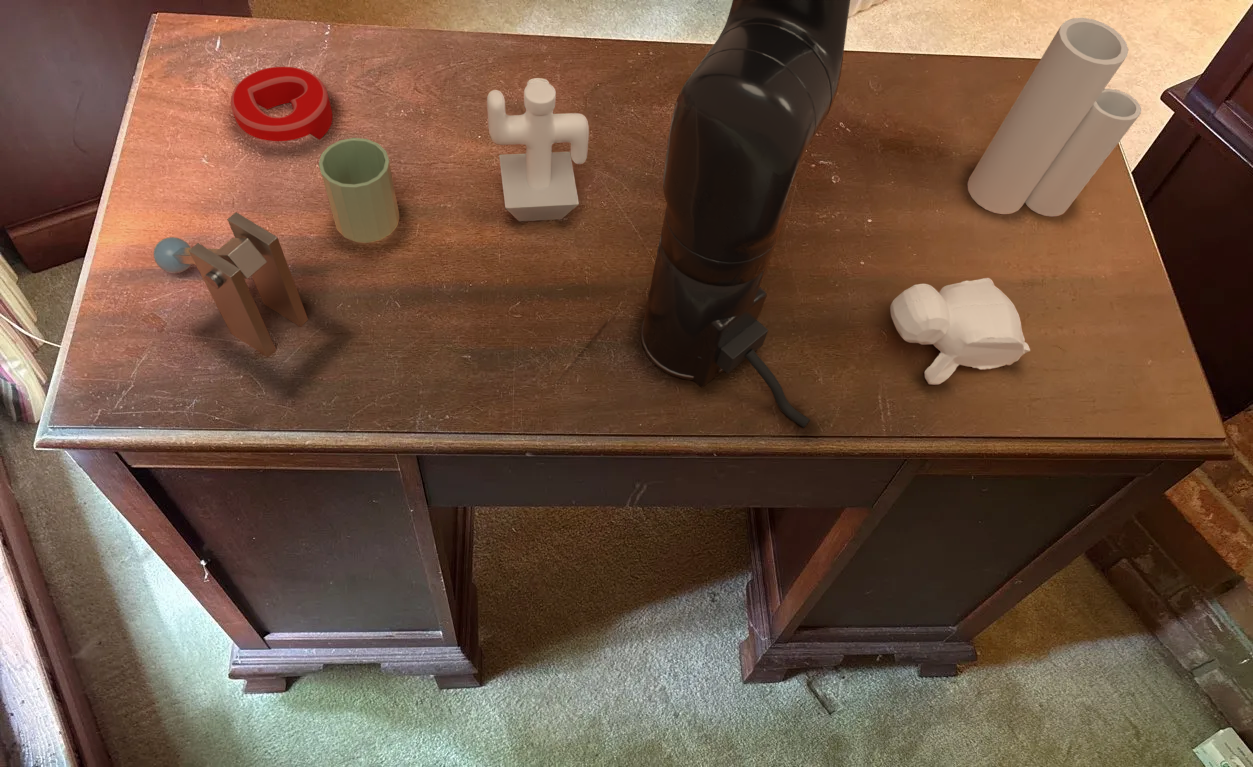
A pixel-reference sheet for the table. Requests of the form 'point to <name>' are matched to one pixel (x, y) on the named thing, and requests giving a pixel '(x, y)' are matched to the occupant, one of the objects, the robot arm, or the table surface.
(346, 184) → the cup
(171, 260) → the ball-ended lever
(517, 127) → the figurine
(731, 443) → the table surface
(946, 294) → the white low-poly sculpture
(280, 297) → the brown upright slabs
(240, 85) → the decorative ornament
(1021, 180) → the vase
